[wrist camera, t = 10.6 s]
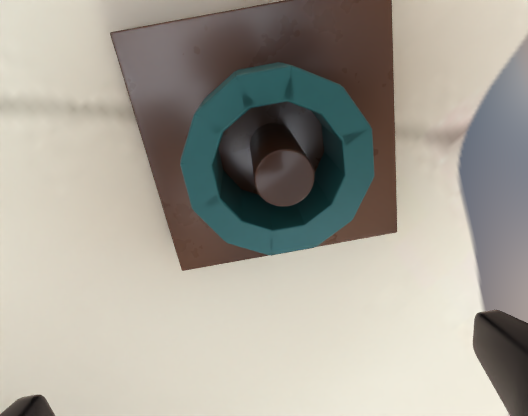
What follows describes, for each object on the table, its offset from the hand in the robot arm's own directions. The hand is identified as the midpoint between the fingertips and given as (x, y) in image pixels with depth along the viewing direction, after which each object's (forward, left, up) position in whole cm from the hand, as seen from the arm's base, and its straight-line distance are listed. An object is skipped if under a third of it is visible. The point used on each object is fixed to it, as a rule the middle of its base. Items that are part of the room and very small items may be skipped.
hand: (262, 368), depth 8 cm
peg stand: (+1, +2, -12) cm, 12 cm away
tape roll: (+1, +2, -10) cm, 11 cm away
